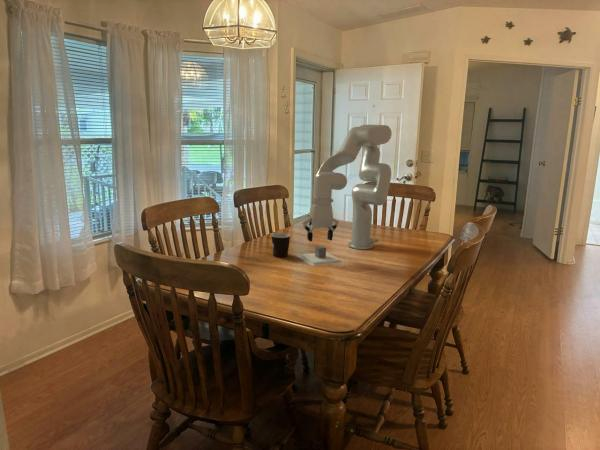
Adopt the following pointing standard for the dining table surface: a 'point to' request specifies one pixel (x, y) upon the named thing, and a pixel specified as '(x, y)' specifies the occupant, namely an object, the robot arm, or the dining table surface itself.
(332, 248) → the dining table surface
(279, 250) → the coffee mug
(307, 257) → the lid
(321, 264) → the mat
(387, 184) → the robot arm
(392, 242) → the dining table surface
